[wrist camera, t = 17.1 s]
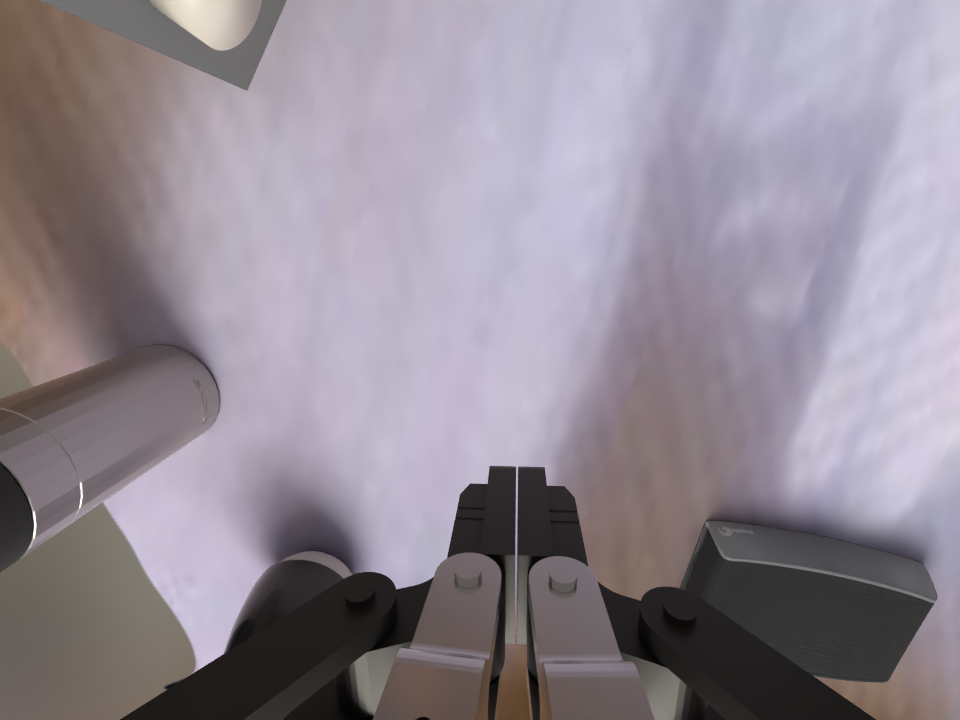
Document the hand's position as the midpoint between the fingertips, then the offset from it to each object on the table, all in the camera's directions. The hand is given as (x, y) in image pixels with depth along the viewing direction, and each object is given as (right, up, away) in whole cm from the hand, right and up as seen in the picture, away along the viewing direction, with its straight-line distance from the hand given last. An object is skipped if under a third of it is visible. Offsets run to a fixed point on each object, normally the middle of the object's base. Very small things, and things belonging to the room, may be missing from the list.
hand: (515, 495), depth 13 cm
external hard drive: (+28, -18, +32) cm, 46 cm away
